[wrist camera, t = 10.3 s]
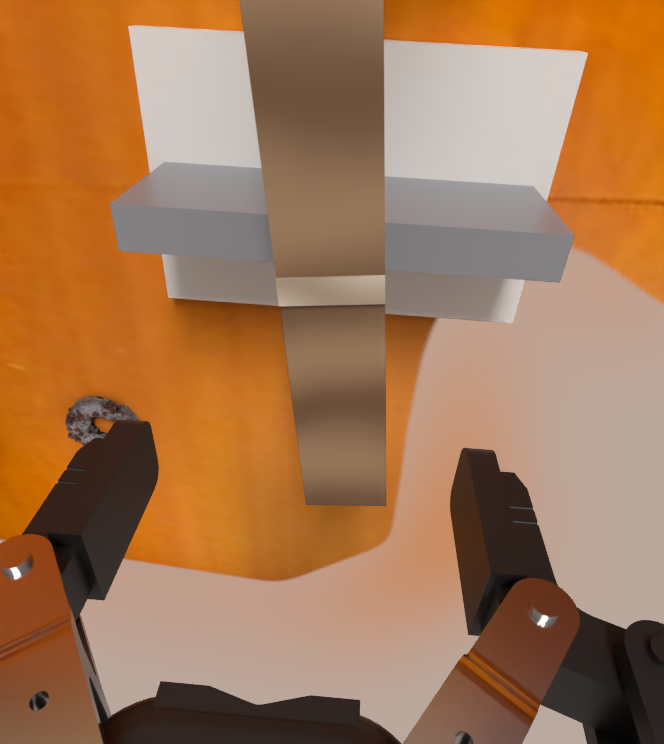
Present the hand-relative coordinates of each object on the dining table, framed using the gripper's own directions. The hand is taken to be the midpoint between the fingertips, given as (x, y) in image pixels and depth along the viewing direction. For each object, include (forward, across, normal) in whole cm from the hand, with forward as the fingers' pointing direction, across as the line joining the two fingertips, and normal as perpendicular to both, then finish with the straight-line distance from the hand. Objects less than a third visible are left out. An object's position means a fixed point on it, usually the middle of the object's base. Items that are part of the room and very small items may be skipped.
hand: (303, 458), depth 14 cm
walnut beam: (+15, 0, 0) cm, 15 cm away
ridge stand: (+24, 0, 0) cm, 24 cm away
